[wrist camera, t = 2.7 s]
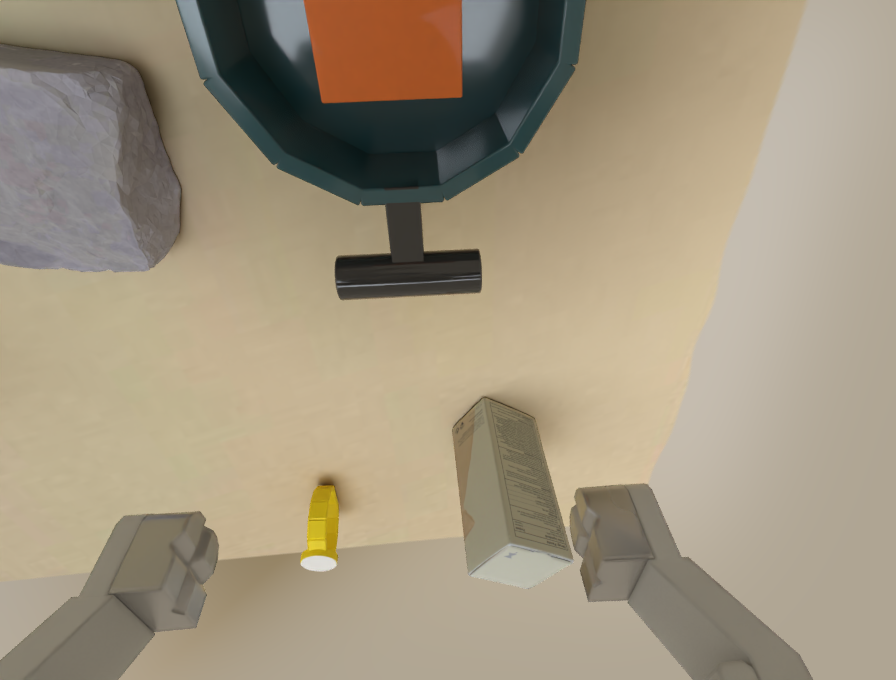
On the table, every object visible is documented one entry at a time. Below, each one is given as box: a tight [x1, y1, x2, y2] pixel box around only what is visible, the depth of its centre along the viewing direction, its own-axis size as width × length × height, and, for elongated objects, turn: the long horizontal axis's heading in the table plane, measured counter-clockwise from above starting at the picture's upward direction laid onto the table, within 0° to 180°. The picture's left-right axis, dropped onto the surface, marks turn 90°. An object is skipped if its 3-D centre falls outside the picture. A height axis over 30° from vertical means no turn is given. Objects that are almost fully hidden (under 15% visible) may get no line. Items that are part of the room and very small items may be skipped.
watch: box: [300, 485, 339, 571], centre depth 39 cm, size 6×3×6 cm, turn 178°
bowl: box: [176, 0, 586, 300], centre depth 15 cm, size 15×12×4 cm
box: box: [452, 398, 574, 589], centre depth 33 cm, size 5×4×11 cm
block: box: [304, 0, 462, 103], centre depth 14 cm, size 4×4×4 cm
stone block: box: [0, 44, 181, 272], centre depth 22 cm, size 12×5×10 cm
